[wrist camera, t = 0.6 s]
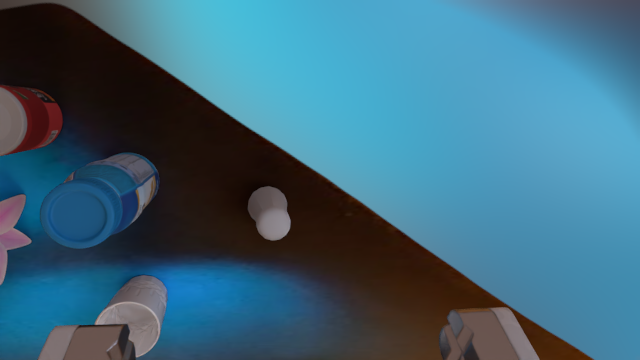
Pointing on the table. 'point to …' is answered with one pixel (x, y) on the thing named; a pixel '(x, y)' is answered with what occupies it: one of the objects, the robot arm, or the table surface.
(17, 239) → the lily
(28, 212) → the table surface
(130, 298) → the white cup
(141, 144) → the table surface
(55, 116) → the canned food
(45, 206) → the beverage bottle
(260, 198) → the salt shaker
